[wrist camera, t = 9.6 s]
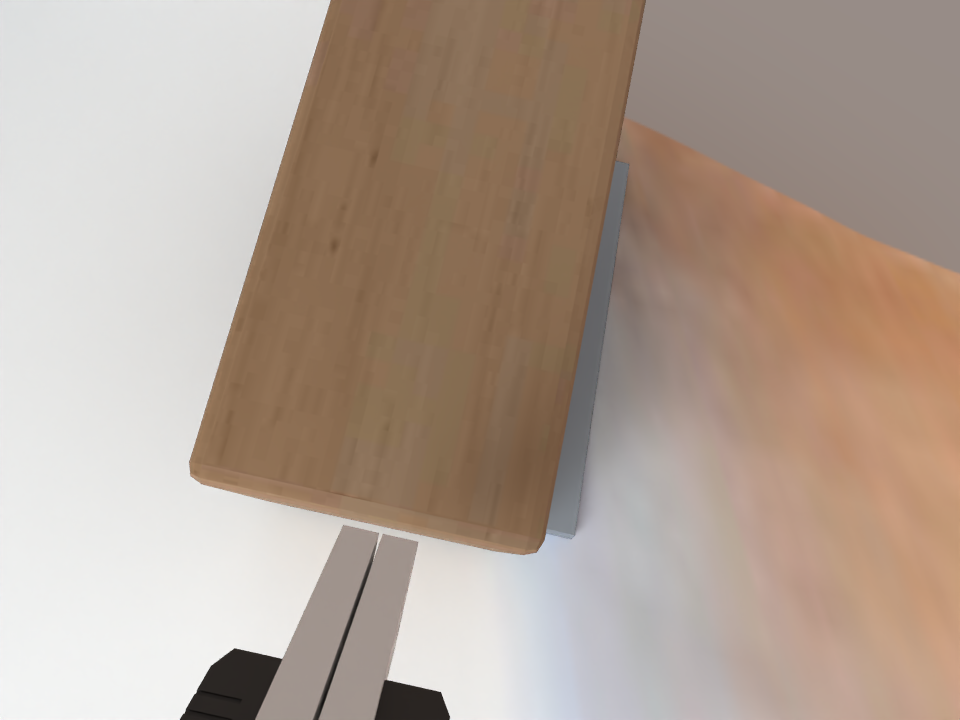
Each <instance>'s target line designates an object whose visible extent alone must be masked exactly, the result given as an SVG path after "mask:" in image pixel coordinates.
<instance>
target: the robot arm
mask: <svg viewBox="0 0 960 720" xmlns="http://www.w3.org/2000/svg"><path fill="white" fill-rule="evenodd" d="M378 535H379V533H376V532H372V531H367V530H363V529H358V528H354V527H349V526H345V525H343V527H342V529H341V531H340V534H339V536H338V538H337V540H336V542H335V545H334V547H333V549H332V551H331V553H330V556H329V558H328V560H327V562H326V565H325V567H324V569H323V571H322V573H321V576H320V578H319V580H318V582H317V584H316V587H315V589H314V591H313V593H312V595H311V598H310V600H309V602H308V604H307V606H306V609H305V611H304V613H303V615H302V617H301V620H300V622H299V624H298V626H297V629H296V631H295V633H294V635H293V637H292V640H291V642H290V644H289V646H288V648H287V651H286V653H285V655H284V657H283V659H280V658H276V657H271V656H267V655H262V654H258V653H253V652H249V651H244V650H240V649H235V648H234V649H233V650H232V651H230V652H229V653H228V654H226V655H225V656H224V657H222V658H221V659H220V660H218V661H217V662H216V663H214V664H213V665H212V666H211V667H210V669H209V670H208V672H207V674H206V676H205V677H204V679H203V681H202V682H201V684H200V686H199V688H198V689H197V693H196V694H194V696H193V698H192V700H191V701H190V703H189V705H188V706H187V708H186V711H185V714H183V715H182V717H181V719H180V720H450V716H449V713H448V710H447V708H446V705H445V702H444V699H443V697H442V694H441V692H438V691H433V690H429V689H424V688H420V687H415V686H411V685H406V684H402V683H397V682H393V681H388V680H387V677H388V673H389V669H390V665H391V661H392V657H393V653H394V649H395V644H396V640H397V636H398V631H399V627H400V622H401V618H402V613H403V609H404V604H405V600H406V595H407V591H408V586H409V582H410V577H411V573H412V569H413V564H414V560H415V555H416V551H417V546H418V542H416V541H412V540H407V539H403V538H398V537H394V536H389V535H385V534H383V535H382V538H381V541H380V544H379V547H378V550H377V552H376V555H375V550H376V545H377V540H378ZM374 555H375V558H374ZM373 560H374V561H373Z"/></svg>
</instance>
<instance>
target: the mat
mask: <svg viewBox="0 0 960 720" xmlns="http://www.w3.org/2000/svg"><path fill="white" fill-rule="evenodd" d="M628 170H629V164H627V163H623V162H619V161H616V162H615V167H614V172H613V178H612V183H611V188H610V194H609V199H608V204H607V210H606V215H605V220H604V226H603V231H602V236H601V241H600V247H599V252H598V257H597V263H596V268H595V273H594V279H593V284H592V289H591V295H590V300H589V305H588V311H587V316H586V321H585V327H584V332H583V337H582V343H581V348H580V353H579V359H578V364H577V369H576V375H575V380H574V385H573V391H572V396H571V401H570V407H569V412H568V417H567V423H566V428H565V433H564V439H563V444H562V449H561V455H560V460H559V465H558V471H557V476H556V481H555V487H554V492H553V497H552V503H551V508H550V513H549V519H548V524H547V529H546V533H548V534H552V535H556V536H561V537H565V538H569V539H572V538H573V537H574V536H575V530H576V523H577V516H578V509H579V503H580V496H581V489H582V482H583V475H584V469H585V462H586V455H587V448H588V441H589V435H590V428H591V421H592V414H593V407H594V401H595V394H596V387H597V380H598V373H599V367H600V360H601V353H602V346H603V340H604V333H605V326H606V319H607V312H608V306H609V299H610V292H611V285H612V278H613V272H614V265H615V258H616V251H617V244H618V238H619V231H620V224H621V217H622V210H623V204H624V197H625V190H626V183H627V176H628Z"/></svg>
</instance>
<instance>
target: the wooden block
mask: <svg viewBox="0 0 960 720" xmlns="http://www.w3.org/2000/svg"><path fill="white" fill-rule="evenodd" d="M645 2H646V0H331V2H330V5H329V8H328V11H327V15H326V18H325V21H324V25H323V28H322V31H321V34H320V38H319V41H318V44H317V47H316V51H315V54H314V57H313V60H312V64H311V67H310V70H309V73H308V77H307V80H306V83H305V86H304V90H303V93H302V96H301V100H300V103H299V106H298V109H297V113H296V116H295V119H294V122H293V126H292V129H291V132H290V135H289V139H288V142H287V145H286V148H285V152H284V155H283V158H282V161H281V165H280V168H279V171H278V175H277V178H276V181H275V184H274V188H273V191H272V194H271V197H270V201H269V204H268V207H267V210H266V214H265V217H264V220H263V223H262V227H261V230H260V233H259V236H258V240H257V243H256V246H255V249H254V253H253V256H252V259H251V263H250V266H249V269H248V272H247V276H246V279H245V282H244V285H243V289H242V292H241V295H240V298H239V302H238V305H237V308H236V311H235V315H234V318H233V321H232V324H231V328H230V331H229V334H228V338H227V341H226V344H225V347H224V351H223V354H222V357H221V360H220V364H219V367H218V370H217V373H216V377H215V380H214V383H213V386H212V390H211V393H210V396H209V399H208V403H207V406H206V409H205V413H204V416H203V419H202V422H201V426H200V429H199V432H198V435H197V439H196V442H195V445H194V448H193V452H192V455H191V458H190V461H189V465H190V475H191V477H193V478H194V479H195V480H197V481H198V482H200V483H201V484H203V485H207V486H211V487H215V488H219V489H223V490H227V491H231V492H235V493H238V494H242V495H246V496H250V497H254V498H258V499H262V500H266V501H270V502H274V503H279V504H283V505H288V506H292V507H297V508H302V509H306V510H311V511H315V512H320V513H324V514H329V515H333V516H338V517H342V518H347V519H351V520H356V521H361V522H365V523H370V524H374V525H379V526H383V527H388V528H392V529H397V530H401V531H406V532H410V533H415V534H419V535H424V536H429V537H433V538H438V539H442V540H447V541H451V542H456V543H460V544H465V545H469V546H474V547H478V548H483V549H488V550H492V551H497V552H505V553H512V554H520V555H526V554H531V553H536V552H537V551H538V550H539V548H540V547H541V545H542V543H543V542H544V540H545V535H546V529H547V524H548V519H549V513H550V508H551V503H552V497H553V492H554V487H555V481H556V476H557V471H558V465H559V460H560V455H561V449H562V444H563V439H564V433H565V428H566V423H567V417H568V412H569V407H570V401H571V396H572V391H573V385H574V380H575V375H576V369H577V364H578V359H579V353H580V348H581V343H582V337H583V332H584V327H585V321H586V316H587V311H588V305H589V300H590V295H591V289H592V284H593V279H594V273H595V268H596V263H597V257H598V252H599V247H600V241H601V236H602V231H603V226H604V220H605V215H606V210H607V204H608V199H609V194H610V188H611V183H612V178H613V172H614V167H615V162H616V156H617V151H618V146H619V140H620V135H621V130H622V124H623V119H624V114H625V108H626V103H627V97H628V92H629V87H630V82H631V76H632V71H633V66H634V60H635V55H636V49H637V44H638V39H639V34H640V27H641V23H642V18H643V12H644V7H645Z"/></svg>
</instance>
